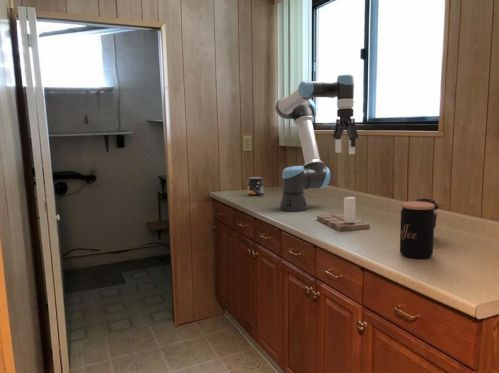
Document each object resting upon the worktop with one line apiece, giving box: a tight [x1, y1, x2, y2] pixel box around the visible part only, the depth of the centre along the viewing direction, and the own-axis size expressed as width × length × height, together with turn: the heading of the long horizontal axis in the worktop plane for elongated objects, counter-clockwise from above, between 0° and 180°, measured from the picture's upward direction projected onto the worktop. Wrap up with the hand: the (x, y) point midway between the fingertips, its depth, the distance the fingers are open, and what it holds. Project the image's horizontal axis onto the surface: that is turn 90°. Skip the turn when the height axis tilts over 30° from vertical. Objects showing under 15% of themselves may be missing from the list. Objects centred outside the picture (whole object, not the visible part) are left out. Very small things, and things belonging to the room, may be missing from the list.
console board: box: [316, 213, 371, 232], centre depth 190 cm, size 24×14×2 cm, turn 15°
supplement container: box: [247, 176, 264, 197], centre depth 274 cm, size 10×10×12 cm
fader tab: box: [343, 196, 357, 223], centre depth 183 cm, size 3×4×11 cm
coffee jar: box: [399, 200, 435, 260], centre depth 142 cm, size 11×11×18 cm
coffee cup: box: [415, 198, 440, 238], centre depth 165 cm, size 10×10×15 cm
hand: (344, 153), depth 198 cm, fingers open, 13 cm apart
